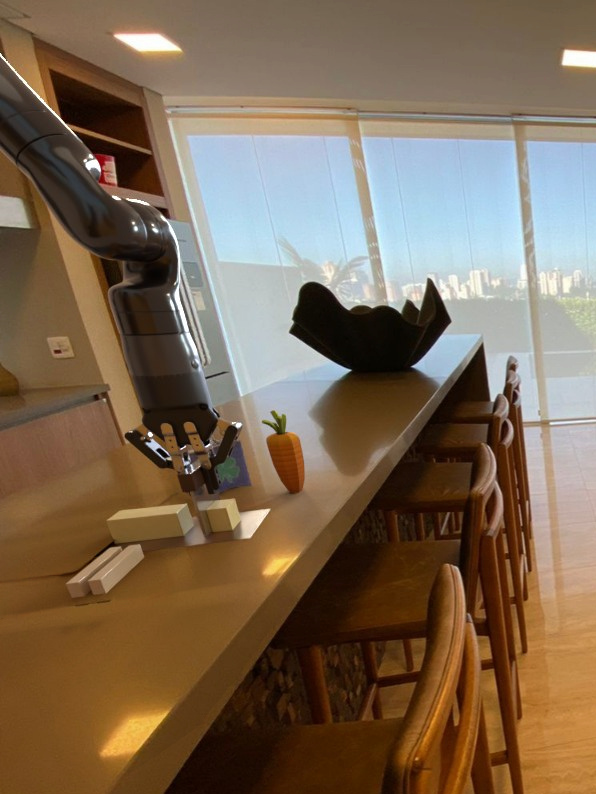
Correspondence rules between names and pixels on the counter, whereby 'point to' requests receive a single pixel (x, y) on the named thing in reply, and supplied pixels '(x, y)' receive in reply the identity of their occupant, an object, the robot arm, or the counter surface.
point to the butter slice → (223, 515)
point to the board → (201, 534)
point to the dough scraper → (198, 493)
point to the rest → (105, 572)
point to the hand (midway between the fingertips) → (204, 493)
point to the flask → (230, 466)
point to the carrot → (286, 454)
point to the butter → (150, 523)
